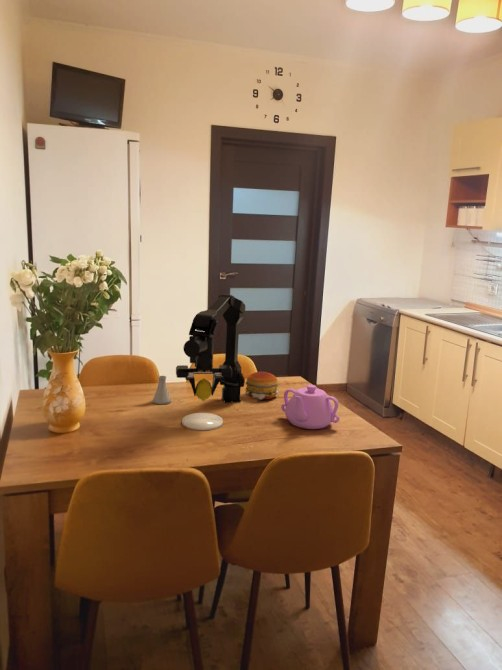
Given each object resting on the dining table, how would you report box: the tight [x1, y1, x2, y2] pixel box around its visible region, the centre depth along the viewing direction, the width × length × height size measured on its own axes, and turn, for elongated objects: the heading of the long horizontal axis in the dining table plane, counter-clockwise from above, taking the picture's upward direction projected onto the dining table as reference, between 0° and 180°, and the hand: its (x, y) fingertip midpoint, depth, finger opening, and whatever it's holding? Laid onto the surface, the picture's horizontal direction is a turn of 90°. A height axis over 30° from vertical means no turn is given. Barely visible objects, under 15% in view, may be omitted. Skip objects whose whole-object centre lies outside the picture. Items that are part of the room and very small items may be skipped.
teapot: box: [280, 384, 341, 430], centre depth 183 cm, size 22×22×14 cm
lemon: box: [195, 378, 212, 402], centre depth 179 cm, size 6×6×8 cm
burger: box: [245, 371, 279, 400], centre depth 212 cm, size 13×14×10 cm
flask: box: [152, 375, 172, 405], centre depth 200 cm, size 7×7×10 cm
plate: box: [181, 412, 224, 432], centre depth 182 cm, size 14×14×1 cm
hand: (203, 395), depth 180 cm, fingers closed on lemon, 5 cm apart
